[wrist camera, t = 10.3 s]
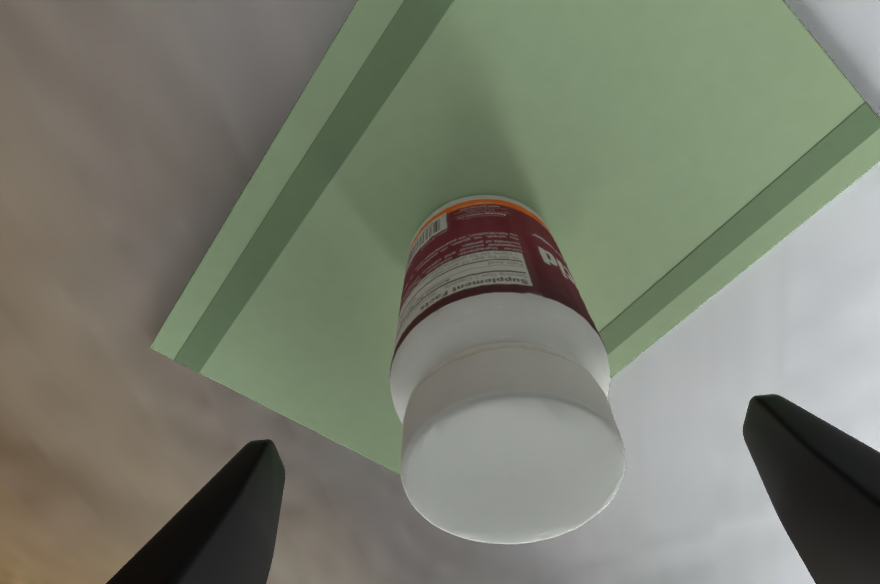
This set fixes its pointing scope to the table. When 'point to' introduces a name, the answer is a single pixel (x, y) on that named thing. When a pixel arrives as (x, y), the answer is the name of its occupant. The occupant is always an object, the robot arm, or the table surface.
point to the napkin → (515, 181)
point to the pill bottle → (500, 380)
